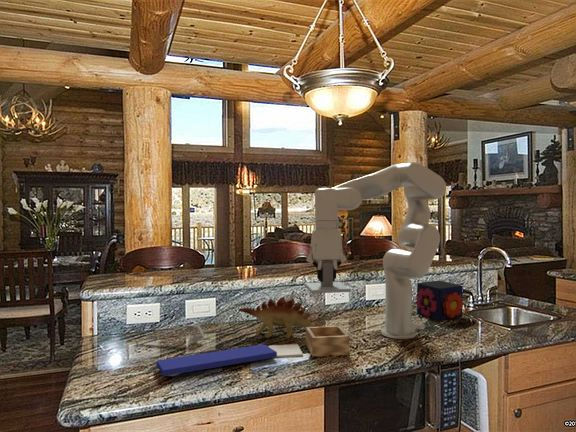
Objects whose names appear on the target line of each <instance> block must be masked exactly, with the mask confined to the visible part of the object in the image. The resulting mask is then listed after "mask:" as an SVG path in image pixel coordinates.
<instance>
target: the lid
mask: <svg viewBox="0 0 576 432" xmlns="http://www.w3.org/2000/svg"><path fill="white" fill-rule="evenodd" d="M321 268H322V270H323V282H305V283H304V287H305V288H306V289H307V290H308V291H309V292H310V293H311V294H331V293H334V294H335V293H351V288H349V287H348V286H347V285H346V284H344V283H342V282H341V281H335V282H333V262H331V260H322V266H321Z"/></svg>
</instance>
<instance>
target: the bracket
mask: <svg viewBox="0 0 576 432" xmlns="http://www.w3.org/2000/svg"><path fill="white" fill-rule="evenodd" d="M184 328H185V329H184ZM190 331H191V334H190V338H189V343H190V344H191V345H194V344H195V343H197V342H198V341H200V340H202V339H205V333H204V332H203V329H202V328H201V325H200V324H195V325H193V324H187V325H184V326H181V327H179V328H175V329H172V330H169V331H166V332H163V333H159V334H157V335H153V334H151V335H150V336H147V337H143V338H140V339H135V343H136V345H137V346H141V345H144V344H149V343H151V342H155V341H158V340H163V339H164V338H165V339H166V338H168V337H172V336H175V335H179V334H182V333H186V332H187V333H189V332H190ZM198 332H199V334H200V335H199V336H197V335H198V334H197V333H198ZM166 334H167V335H166ZM147 339H149V340H147ZM144 340H147V341H144ZM140 341H144V342H140ZM139 342H140V343H139Z"/></svg>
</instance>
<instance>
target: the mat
mask: <svg viewBox="0 0 576 432" xmlns="http://www.w3.org/2000/svg"><path fill="white" fill-rule="evenodd" d="M267 346H268V347H269V348H271V349H273V350H274V351H276V352H277V357H274V358H290V357H291V358H293V357H304V353H303V352H302V349H301V348H300V346H299V344H298V343H296V344H295V343H293V344H291V343H290V344H274V345H273V344H272V345H271V344H270V345H267ZM274 358H273V359H274Z"/></svg>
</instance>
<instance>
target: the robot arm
mask: <svg viewBox="0 0 576 432" xmlns="http://www.w3.org/2000/svg"><path fill="white" fill-rule="evenodd" d="M399 188H403V193H404V195H405V198H406V201H407V205H408V206H407V207H408V208H407V213H406V215H405V217H404V220H403V221H402V224H401V227H400V229H399V232H398V234H397V239H396V240H397V243H398V244H399V245H400V246H401V247H403V248H404V249H403V248H392V249H389V250H387V251H386V252H385V254H384V255H383V258H382V267H383V271H384V279H385V316H384V317H385V319H384V320H385V327H382V328H381V330H380V334H381V335H382V336H384V337H386V338H390V339H395V340H410V339H414V338H415V337H416V336H417V330H424V329H425V328H426V326H425V324H424V323H418V322H413V286H412V280H411V279H421V278H423V277H425V276H426V275H427V273H428V272H429V270H430V268H431V266H432V263H433V260H434V258H435V256H436V254H437V252H438V249H439V246H440V242H441V235H440V232H439V229H438V228H437V227H436V226H434V225H433V224H429V222H430V219H431V215H432V214H431V209H430V206H429V203H428V202H427V200H438V199H441V198H443V196H444V195H445V194H446V192H447V183H446V181H445V180H444V178H443V177H442V176H440V174H437V173H436V172H434V171H433V170H431V169H430V168H428V167H426V166H424V165H423V164H422V163H418V162H414V161H413V162H402V163H401V162H400V163H396V164H392V165H390V166H388V167H386V168H383V169H380V170H378V171H376V172H373V173H370V174H367V175H364V176H362V177H359V178H356V179H352V180H349V181H347V182H344V183H341V184H339V185H336V186H334V187H331V188H330V187H323V188H322V187H321V188H317V189H316V190H315V193H314V229H312V231H311V239H310V252H309V254H308V255H307V257H306V262H308V263H309V264H311V265H313V266H314V268H316V270H317V271H316V276H317V277H316V279H317V280H318V281H319V283H321V282H323V270H322V268H321V266H322V261H331V262H333V282H336V279H337V269H338V268H339V267H340V265H342V264H343V263H344V262H346V261H347V260H348V259H347V257H346V255H345V253H344V251H343V242H342V241H343V240H342V233H341V230H340V229H339V227H342V226H343V222H342V221H339V210H340V211H341V210H342V211H353V210H356V209H357V208H359V206H361V204H362V202H363V200H370V199H376V198H380V197H382V196H384V195H387V194H389V193H390V192H393V191H396V190H398V189H399ZM405 248H406V249H405ZM410 249H411V250H410Z"/></svg>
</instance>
